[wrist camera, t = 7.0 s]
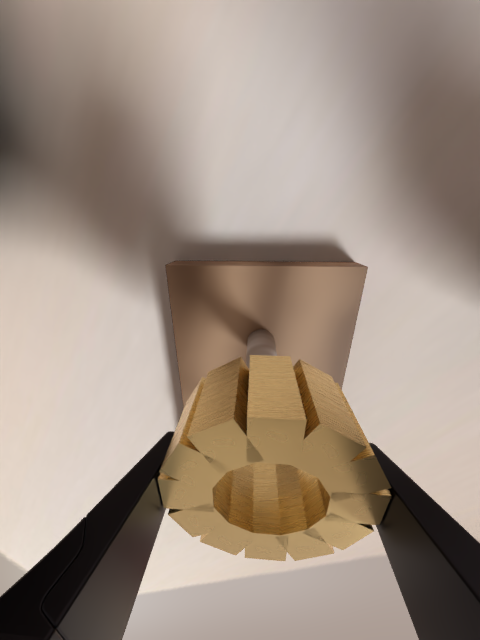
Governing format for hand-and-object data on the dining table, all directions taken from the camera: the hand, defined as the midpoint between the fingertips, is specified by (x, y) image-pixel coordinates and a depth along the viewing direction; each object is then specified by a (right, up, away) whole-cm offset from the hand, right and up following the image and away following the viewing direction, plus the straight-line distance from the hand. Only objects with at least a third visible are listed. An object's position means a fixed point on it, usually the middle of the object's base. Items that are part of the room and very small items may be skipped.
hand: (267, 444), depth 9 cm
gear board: (+1, -1, +12) cm, 12 cm away
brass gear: (0, 0, +1) cm, 1 cm away
